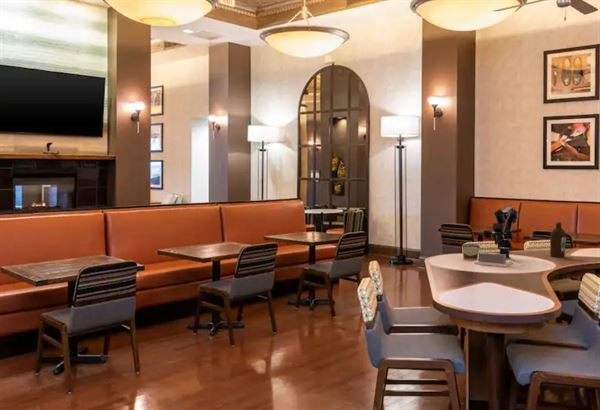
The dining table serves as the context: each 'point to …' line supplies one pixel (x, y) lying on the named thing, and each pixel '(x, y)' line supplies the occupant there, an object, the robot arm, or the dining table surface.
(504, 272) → the dining table surface
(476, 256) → the food container
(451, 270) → the dining table surface
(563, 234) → the olive oil
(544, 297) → the dining table surface
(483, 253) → the grey block on base
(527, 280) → the dining table surface
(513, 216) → the robot arm
